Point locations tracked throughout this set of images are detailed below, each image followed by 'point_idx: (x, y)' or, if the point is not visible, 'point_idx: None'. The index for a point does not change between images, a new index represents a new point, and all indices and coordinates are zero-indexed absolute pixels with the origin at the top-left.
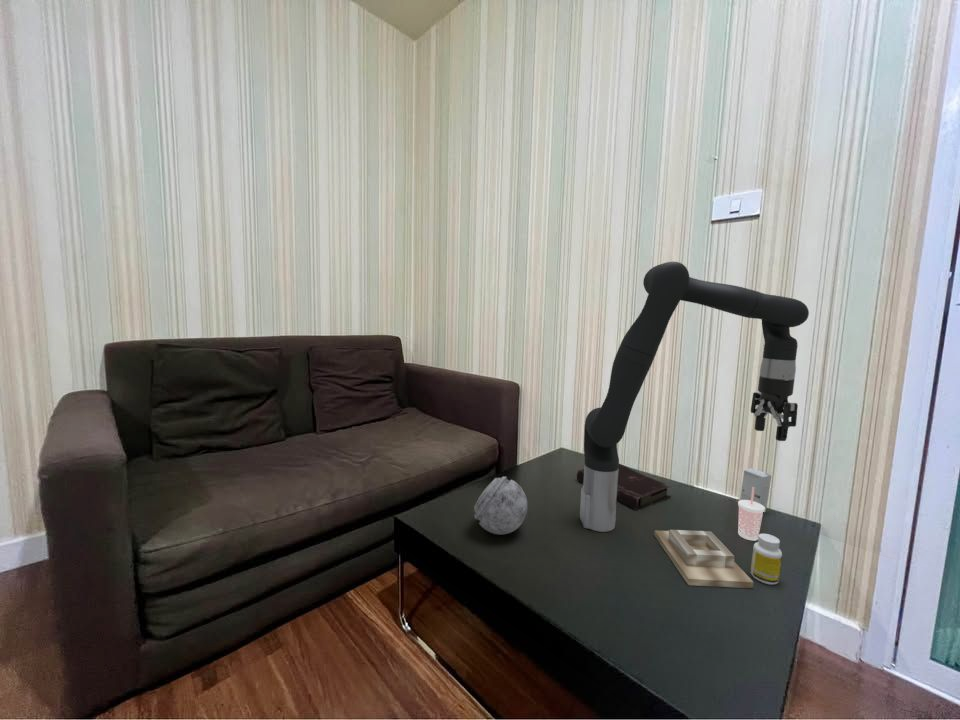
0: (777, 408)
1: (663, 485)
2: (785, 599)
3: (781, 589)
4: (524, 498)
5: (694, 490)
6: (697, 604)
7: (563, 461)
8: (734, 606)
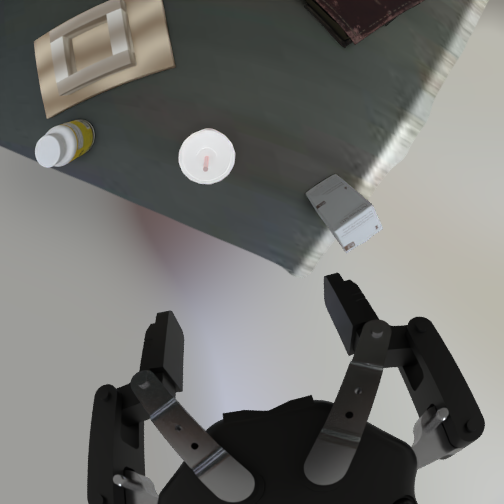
0: (182, 468)
1: (352, 26)
2: None
3: None
4: None
5: (386, 113)
6: (12, 57)
7: None
8: (17, 94)
